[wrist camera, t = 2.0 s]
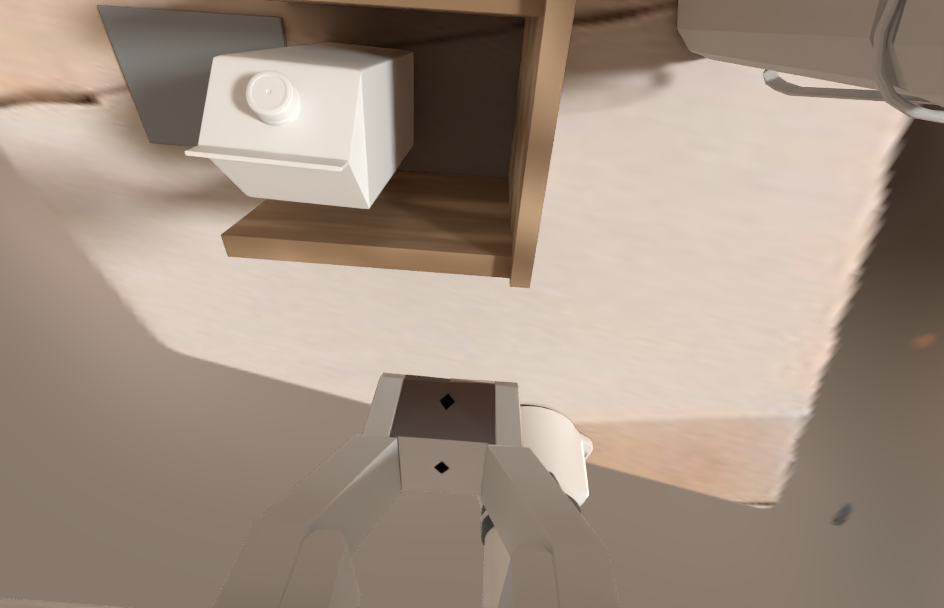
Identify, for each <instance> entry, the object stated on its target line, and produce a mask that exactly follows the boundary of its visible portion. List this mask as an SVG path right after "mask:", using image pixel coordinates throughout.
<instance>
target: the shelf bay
mask: <svg viewBox="0 0 944 608" xmlns="http://www.w3.org/2000/svg"><path fill="white" fill-rule="evenodd" d="M270 1H281V2H295V3H310V4H325V5H340V6H355V7H369V8H384V9H399V10H414V11H429V12H444V13H459V14H474V15H489V16H503V17H518V18H525V26H524V35H523V44H522V54H521V63H520V72H519V82H518V91H517V100H516V110H515V119H514V129H513V138H512V147H511V157H510V166H509V175H508V179H507V178H493V177H479V176H466V175H452V174H438V173H424V172H411V171H397V170H396V171H395V172H394V174H393V175H392V177H391V178H390V180H389V181H388V182H387V184H386V185H385V187H384V188H383V190H382V191H381V192H380V194H379V195H378V197H377V198H376V200H375V201H374V203H373V204H372V205H371V207H370V209H361V208H351V207H341V206H332V205H322V204H312V203H302V202H293V201H283V200H273V199H267V200H266V201H264V202H263V203H262V204H261V205H259V206H258V207H257V208H255V209H254V210H253V211H251V212H250V213H249V214H247V215H246V216H245V217H244V218H242V219H241V220H240V221H238V222H237V223H236V224H234V225H233V226H232V227H231V228H229V229H228V230H227V231H225V232H224V233H223V234H221V237H222V240H223V243H224V246H225V249H226V252H227V255H228V256H229V257H242V258H255V259H268V260H281V261H294V262H307V263H320V264H333V265H346V266H359V267H372V268H385V269H398V270H411V271H425V272H438V273H451V274H464V275H477V276H490V277H503V278H510V287H523V288H530V282H531V276H532V270H533V264H534V258H535V251H536V245H537V239H538V233H539V227H540V221H541V215H542V208H543V202H544V196H545V190H546V184H547V178H548V172H549V165H550V159H551V153H552V147H553V141H554V135H555V129H556V123H557V116H558V110H559V104H560V98H561V92H562V86H563V80H564V73H565V67H566V61H567V55H568V49H569V43H570V37H571V30H572V24H573V18H574V12H575V6H576V0H270Z"/></svg>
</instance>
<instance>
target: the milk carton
mask: <svg viewBox="0 0 944 608" xmlns="http://www.w3.org/2000/svg"><path fill="white" fill-rule="evenodd" d="M413 144H414V52H413V51H408V50H400V49H390V48H381V47H371V46H362V45H352V44H342V43H333V42H321V43H313V44H305V45H297V46H289V47H280V48H272V49H264V50H256V51H248V52H240V53H232V54H224V55H219V56H216V57H214V58H213V62H212V68H211V73H210V79H209V85H208V90H207V96H206V102H205V107H204V113H203V119H202V124H201V130H200V136H199V142H198V146H195V147H193V148H190V149H188V150H186V151H184V152H185V155H186V156H195V157H205V158H209V159H210V160H211V161H212V162H213V163H214V164H215V165H216V166H217V167H218V168H219V169H220V170H221V171H222V172H223V173H224V174H225V175H226V176H227V177H228V178H229V179H230V180H231V181H232V182H233V183H234V184H235V185H237V186H238V187H239V188H240V189H241V190H242V191H243V192H244V193H245V194H246V195H247V196H248V197H255V198H264V199H273V200H283V201H293V202H302V203H312V204H322V205H332V206H341V207H351V208H361V209H370V207H371V205H372V204H373V203H374V201H375V200H376V198H377V197H378V195H379V194H380V192H381V191H382V190H383V188H384V187H385V185H386V184H387V182H388V181H389V180H390V178H391V177H392V175H393V174H394V172H395V171H396V169H397V168H398V167H399V165H400V164H401V162H402V161H403V159H404V158H405V156H406V155H407V154H408V152H409V151H410V149H411V148H412V146H413Z"/></svg>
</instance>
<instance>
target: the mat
mask: <svg viewBox="0 0 944 608" xmlns="http://www.w3.org/2000/svg"><path fill="white" fill-rule="evenodd" d="M97 6H98V9H99V12H100V14H101V17H102V19H103V22H104V25H105V27H106V30H107V32H108V35H109V38H110V40H111V43H112V45H113V48H114V51H115V53H116V56H117V58H118V61H119V64H120V66H121V69H122V71H123V74H124V77H125V79H126V82H127V84H128V87H129V90H130V92H131V95H132V97H133V100H134V103H135V105H136V108H137V110H138V113H139V115H140V118H141V121H142V123H143V126H144V128H145V131H146V134H147V136H148V139H149V141H150V143H160V144H174V145H187V146H198V142H199V136H200V130H201V124H202V119H203V113H204V107H205V102H206V96H207V90H208V85H209V79H210V73H211V68H212V62H213V58H214V57H216V56H219V55H224V54H232V53H240V52H248V51H256V50H264V49H272V48H280V47H287V45H286V40H285V34H284V28H283V23H282V18H278V17H263V16H249V15H234V14H219V13H204V12H190V11H175V10H160V9H145V8H131V7H116V6H101V5H97Z"/></svg>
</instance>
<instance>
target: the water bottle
mask: <svg viewBox="0 0 944 608" xmlns="http://www.w3.org/2000/svg"><path fill="white" fill-rule="evenodd" d="M677 30H678V32H679V34H680V35H681V37H682V39H683V41H684V43H685V44H686V46H687V48H688V50H689V51H691V52H693V53H696V54H698V55H701V56H704V57H706V58H709V59H712V60H717V61H723V62H728V63H734V64H739V65H745V66H750V67H756V68H761V69H765V71H764V72H763V76H764V79H765V83H766V84H767V85H768V86H770V87H771V88H773V89H774V90H776V91H779V92H781V93H784V94H787V95H791V96H808V97H824V98H840V99H856V100H873V101H885V102H887V103H888V104H890V105H891V106H893V107H895V108H896V109H898V110H899V111H901V112H902V113H904V114H905V115H907V116H909V117H912V118H918V119H923V120H929V121H934V122H939V123H944V111H934V110H929V109H926V108H922V107H919V106H916V105H914V104H912V103H921V104H937V105H940V106H942V107H944V0H678V16H677ZM777 71H778V72H783V73H789V74H794V75H800V76H805V77H811V78H816V79H822V80H827V81H833V82H838V83H844V84H849V85H855V86H860V87H866V88H871V89H877V90H857V89H835V88H813V87H800V86H797V85H794V84H791V83H788V82H786V81H784V80H783V79H781V78H780V77H778V73H777ZM878 90H880V91H878Z"/></svg>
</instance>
